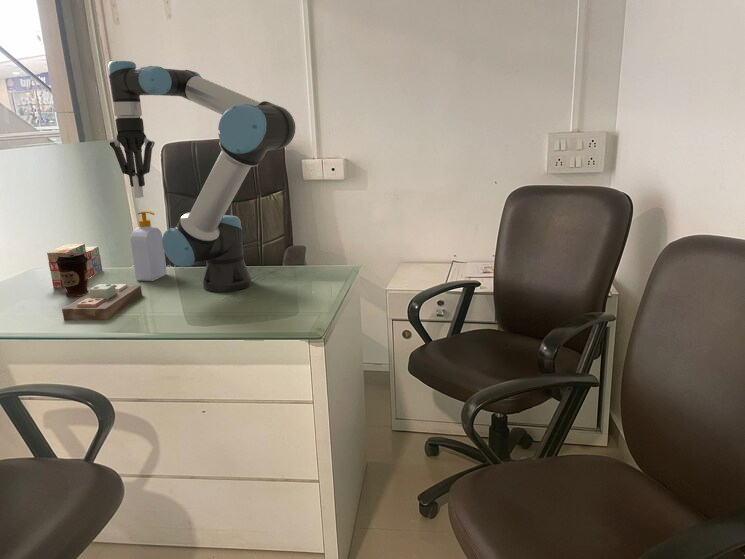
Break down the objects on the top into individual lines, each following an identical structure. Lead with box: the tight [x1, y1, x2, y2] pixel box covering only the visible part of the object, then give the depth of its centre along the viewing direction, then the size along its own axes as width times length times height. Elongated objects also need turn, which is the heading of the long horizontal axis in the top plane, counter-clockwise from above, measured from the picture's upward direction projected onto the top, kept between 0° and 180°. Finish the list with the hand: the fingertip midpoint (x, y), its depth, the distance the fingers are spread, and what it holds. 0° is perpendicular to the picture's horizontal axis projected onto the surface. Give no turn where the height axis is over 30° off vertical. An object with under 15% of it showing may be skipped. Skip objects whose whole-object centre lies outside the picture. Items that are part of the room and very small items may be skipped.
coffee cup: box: [56, 252, 90, 298], centre depth 172 cm, size 9×8×13 cm
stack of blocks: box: [46, 243, 103, 289], centre depth 190 cm, size 21×6×12 cm, turn 0°
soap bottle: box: [130, 210, 168, 282], centre depth 189 cm, size 9×7×23 cm
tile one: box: [114, 283, 128, 292], centre depth 168 cm, size 5×5×3 cm
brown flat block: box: [61, 284, 143, 321], centre depth 162 cm, size 12×22×3 cm, turn 178°
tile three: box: [77, 298, 105, 307], centre depth 155 cm, size 5×5×3 cm
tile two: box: [88, 283, 116, 299], centre depth 161 cm, size 5×5×3 cm
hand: (139, 197), depth 171 cm, fingers closed
